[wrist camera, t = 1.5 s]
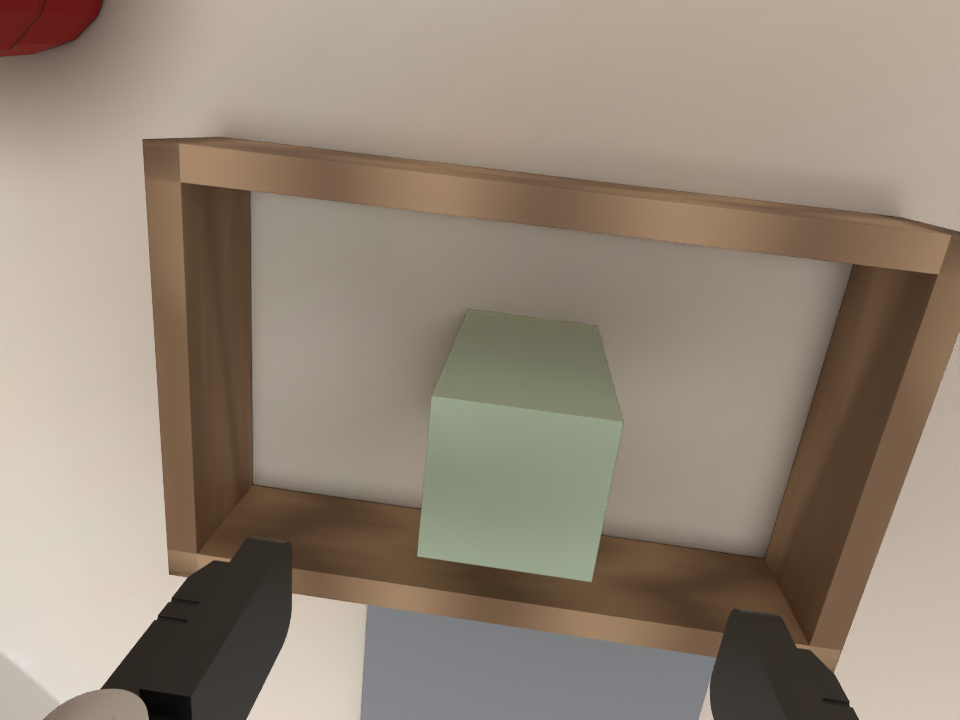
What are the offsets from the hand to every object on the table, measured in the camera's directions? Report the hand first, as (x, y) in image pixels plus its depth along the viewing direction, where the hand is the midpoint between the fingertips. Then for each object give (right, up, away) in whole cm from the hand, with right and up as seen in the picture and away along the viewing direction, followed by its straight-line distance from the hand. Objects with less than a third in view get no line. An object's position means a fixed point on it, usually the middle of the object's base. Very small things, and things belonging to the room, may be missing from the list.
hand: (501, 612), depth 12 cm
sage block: (+1, +4, +12) cm, 12 cm away
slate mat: (+1, -12, +17) cm, 21 cm away
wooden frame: (+1, +4, +12) cm, 12 cm away
